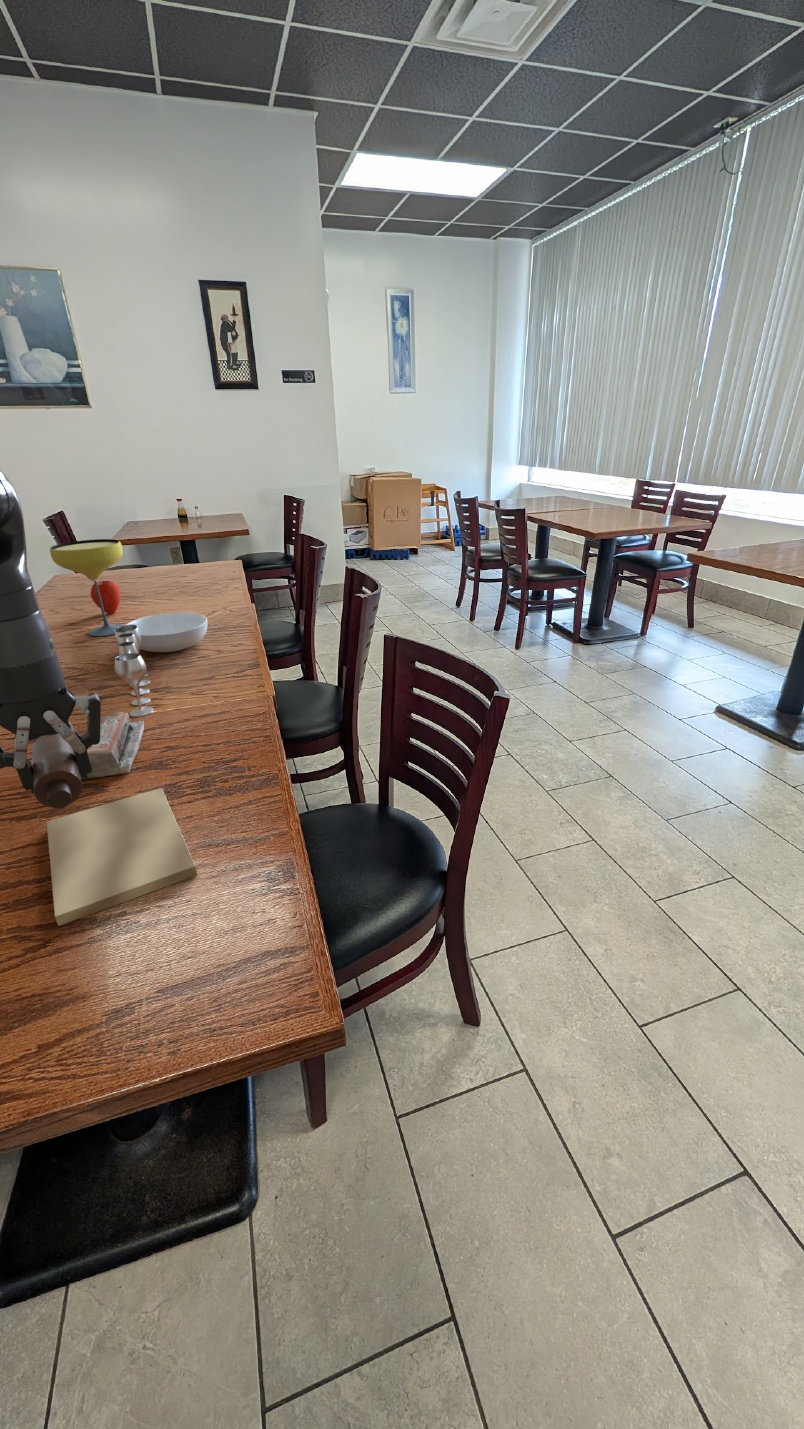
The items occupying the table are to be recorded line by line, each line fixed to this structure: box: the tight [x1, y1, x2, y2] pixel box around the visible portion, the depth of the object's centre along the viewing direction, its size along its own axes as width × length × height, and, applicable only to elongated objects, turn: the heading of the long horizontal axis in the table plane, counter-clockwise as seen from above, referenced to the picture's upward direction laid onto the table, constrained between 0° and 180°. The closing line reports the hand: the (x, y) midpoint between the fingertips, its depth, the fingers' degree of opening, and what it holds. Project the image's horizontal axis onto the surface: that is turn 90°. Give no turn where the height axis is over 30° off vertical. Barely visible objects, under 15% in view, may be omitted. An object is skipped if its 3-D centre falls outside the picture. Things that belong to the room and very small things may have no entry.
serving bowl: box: [125, 611, 208, 653], centre depth 157 cm, size 21×21×7 cm
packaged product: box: [79, 711, 145, 780], centre depth 104 cm, size 18×5×10 cm
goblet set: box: [114, 624, 154, 718], centre depth 127 cm, size 28×6×13 cm, turn 23°
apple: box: [90, 580, 121, 614], centre depth 188 cm, size 9×8×11 cm
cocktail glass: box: [49, 538, 124, 638], centre depth 168 cm, size 18×18×25 cm
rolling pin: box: [31, 734, 83, 810], centre depth 72 cm, size 16×5×5 cm, turn 31°
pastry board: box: [46, 787, 198, 927], centre depth 80 cm, size 16×22×2 cm
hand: (60, 782), depth 73 cm, fingers closed on rolling pin, 5 cm apart
